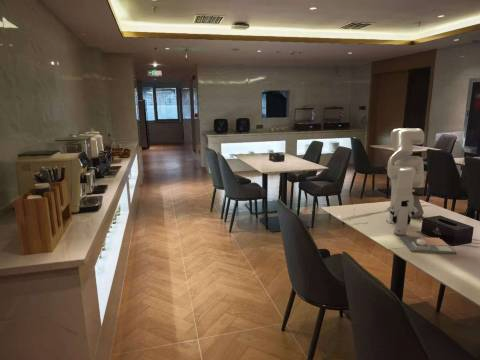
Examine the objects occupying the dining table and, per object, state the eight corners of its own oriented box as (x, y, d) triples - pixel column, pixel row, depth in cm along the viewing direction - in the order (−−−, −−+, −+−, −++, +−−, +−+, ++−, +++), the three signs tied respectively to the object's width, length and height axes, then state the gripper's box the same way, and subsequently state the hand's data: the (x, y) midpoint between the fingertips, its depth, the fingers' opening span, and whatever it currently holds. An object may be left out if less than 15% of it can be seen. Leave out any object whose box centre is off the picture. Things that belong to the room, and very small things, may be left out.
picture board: (399, 238, 181) (400, 233, 180) (439, 239, 178) (440, 235, 177) (411, 251, 163) (411, 247, 163) (456, 253, 160) (456, 248, 160)
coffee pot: (426, 218, 212) (429, 195, 209) (408, 218, 212) (410, 195, 209) (411, 208, 233) (413, 187, 229) (394, 208, 233) (396, 187, 230)
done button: (415, 242, 168) (415, 238, 168) (423, 242, 167) (424, 239, 167) (418, 245, 164) (418, 241, 164) (426, 246, 164) (427, 242, 163)
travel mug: (399, 236, 182) (403, 201, 178) (391, 232, 188) (394, 198, 184) (409, 235, 184) (412, 200, 180) (400, 231, 190) (403, 197, 186)
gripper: (418, 190, 183) (415, 221, 187) (385, 189, 186) (382, 220, 190) (423, 193, 176) (420, 225, 180) (389, 192, 179) (386, 224, 182)
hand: (401, 222), depth 185 cm, fingers closed on travel mug, 6 cm apart
